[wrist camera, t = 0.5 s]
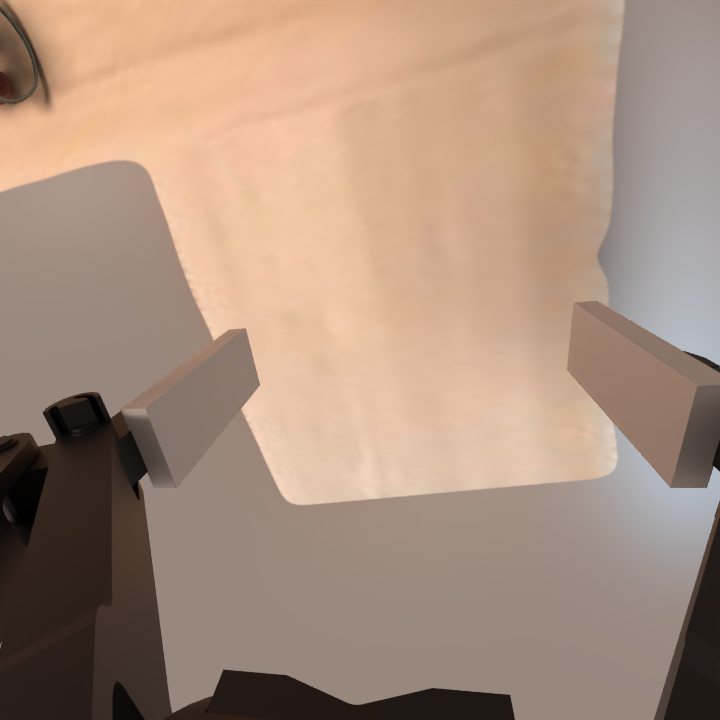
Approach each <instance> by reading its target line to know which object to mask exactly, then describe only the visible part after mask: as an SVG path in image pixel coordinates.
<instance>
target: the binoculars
mask: <svg viewBox="0 0 720 720" xmlns="http://www.w3.org/2000/svg"><path fill="white" fill-rule="evenodd" d="M0 12H1V13H2V14H3V15H4V16H5V17H6V18H7V19H8V21H9V22H10V23H11V24H12V26H13V27H14V28H15V30H16V31H17V33H18V34H19V35H20V37H21V39H22V40H23V42H24V44H25V46H26V48H27V50H28V52H29V54H30V57H31V60H32V64H33V68H34V74H35V83H34V86H33V88H32V90H31V91H30V92H28V93H27V94H26V95H24V96H23V97H21V98H18V99H10V94H11V85H10V82H9V80H8V79H7V78H6V76H5V75H4V74H3V73H2V72H0V105H1V104H5V103H8V104H16V103H19V102H22V101H24V100H25V99H27V98H28V97H29V96H30V95H32V94H33V92H34V90H35V89H36V86H37V82H38V71H37V65H36V61H35V57H34V55H33V52H32V49H31V47H30V45H29V43H28V41H27V39H26V38H25V36H24V34H23V33H22V31H21V30H20V28H19V27H18V25H17V24H16V23H15V21H14V20H13V19H12V18H11V16H10V15H9V14H8V13H7V12H6V11H5V10H4V9H3V8H2V7H1V6H0Z"/></svg>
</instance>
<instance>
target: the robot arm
mask: <svg viewBox="0 0 720 720" xmlns="http://www.w3.org/2000/svg"><path fill="white" fill-rule="evenodd" d="M567 370H568V371H569V373H570V374H571V375H572V376H573V377H574V378H575V379H576V380H577V382H578V383H579V384H580V385H581V386H582V387H583V388H584V390H585V391H586V392H587V393H588V394H589V395H590V396H591V398H592V399H593V400H594V401H595V402H596V403H597V404H598V406H599V407H600V408H601V409H602V410H603V411H604V412H605V414H606V415H607V416H608V417H609V418H610V419H611V420H612V422H613V423H614V424H615V425H616V426H617V427H618V428H619V430H620V431H621V432H622V433H623V434H624V435H625V436H626V437H627V439H628V440H629V441H630V442H631V443H632V444H633V445H634V447H635V448H636V449H637V450H638V451H639V452H640V453H641V455H642V456H643V457H644V458H645V459H646V460H647V461H648V463H649V464H650V465H651V466H652V467H653V468H654V469H655V470H656V472H657V473H658V474H659V475H660V476H661V477H662V479H663V480H664V481H665V482H666V483H667V484H668V485H669V487H670V488H707V486H708V483H709V480H710V476H711V473H712V470H713V467H716V468H717V469H718V470H719V471H720V366H719V365H717V364H715V363H713V362H711V361H710V360H708V359H706V358H704V357H701V356H698V355H695V354H691V353H689V352H686V351H682V350H680V349H678V348H676V347H675V346H673V345H671V344H669V343H668V342H666V341H664V340H663V339H661V338H659V337H657V336H656V335H654V334H652V333H650V332H649V331H647V330H645V329H643V328H642V327H640V326H638V325H636V324H635V323H633V322H632V321H630V320H628V319H627V318H625V317H623V316H621V315H620V314H618V313H616V312H614V311H613V310H611V309H609V308H608V307H606V306H604V305H602V304H601V303H599V302H597V301H591V302H578V303H574V308H573V318H572V327H571V337H570V346H569V355H568V365H567ZM259 386H260V383H259V379H258V375H257V371H256V367H255V363H254V359H253V355H252V351H251V347H250V343H249V340H248V336H247V332H246V328H244V329H231V330H228V331H227V332H225V333H224V334H223V335H221V336H220V337H219V338H217V339H216V340H214V341H213V342H212V343H210V344H209V345H208V346H206V347H205V348H204V349H202V350H201V351H200V352H198V353H197V354H195V355H194V356H193V357H192V358H190V359H189V360H187V361H186V362H185V363H183V364H182V365H180V366H179V367H178V368H176V369H175V370H173V371H172V372H171V373H169V374H168V375H167V376H165V377H164V378H163V379H161V380H160V381H159V382H157V383H156V384H154V385H153V386H152V387H150V388H149V389H148V390H146V391H145V392H143V393H142V394H141V395H140V396H138V397H137V398H135V399H134V400H133V401H131V402H130V403H129V404H127V405H126V406H124V407H123V408H122V409H121V411H120V412H119V413H117V414H116V415H115V416H113V417H112V418H110V416H109V414H108V412H107V409H106V407H105V405H104V403H103V401H102V398H101V396H100V394H99V393H95V392H90V393H82V394H78V395H74V396H71V397H68V398H66V399H63V400H61V401H58V402H57V403H54V404H52V405H51V406H49V407H48V408H46V409H45V410H44V412H43V415H44V416H45V418H46V420H47V422H48V424H49V426H50V428H51V430H52V432H53V434H54V435H55V437H56V442H55V443H54V444H49V445H44V446H40V447H38V446H37V444H36V442H35V440H34V438H33V437H32V435H31V434H30V433H19V434H14V435H10V436H3V437H0V644H1V642H2V644H1V648H0V720H515V718H514V713H513V707H512V702H511V697H510V695H505V694H493V693H482V692H471V691H459V690H448V689H437V688H431V689H427V690H423V691H419V692H414V693H410V694H406V695H401V696H397V697H393V698H388V699H384V700H379V701H375V702H371V703H367V704H362V705H352V704H349V703H346V702H344V701H342V700H340V699H338V698H335V697H333V696H331V695H329V694H327V693H324V692H322V691H320V690H318V689H316V688H313V687H311V686H309V685H307V684H305V683H303V682H301V681H298V680H296V679H294V678H291V677H290V676H287V675H277V674H267V673H255V672H243V671H232V670H223V672H222V675H221V677H220V680H219V682H218V685H217V687H216V690H215V692H214V695H213V696H211V697H208V698H205V699H203V700H200V701H197V702H195V703H192V704H190V705H188V706H186V707H184V708H182V709H180V710H178V711H176V712H174V713H172V711H171V706H170V699H169V693H168V685H167V676H166V668H165V661H164V653H163V645H162V637H161V629H160V621H159V614H158V606H157V597H156V589H155V581H154V574H153V566H152V558H151V550H150V543H149V534H148V527H147V518H146V511H145V502H144V494H143V490H142V488H141V485H140V483H139V480H140V479H141V478H142V477H143V476H144V475H145V474H146V473H148V475H149V477H150V480H151V482H152V484H153V486H154V488H177V487H178V486H179V485H180V484H181V482H182V481H183V480H184V478H185V477H186V476H187V475H188V473H189V472H190V471H191V470H192V469H193V468H194V466H195V465H196V464H197V463H198V461H199V460H200V459H201V458H202V456H203V455H204V454H205V453H206V451H207V450H208V449H209V448H210V446H211V445H212V444H213V443H214V441H215V440H216V439H217V438H218V436H219V435H220V434H221V433H222V432H223V430H224V429H225V428H226V427H227V425H228V424H229V423H230V422H231V420H232V419H233V418H234V417H235V415H236V414H237V413H238V412H239V410H240V409H241V408H242V407H243V406H244V404H245V403H246V402H247V401H248V399H249V398H250V397H251V396H252V394H253V393H254V392H255V391H256V389H257V388H258V387H259ZM654 720H720V502H719V505H718V508H717V511H716V514H715V520H714V523H713V526H712V529H711V533H710V536H709V540H708V543H707V546H706V549H705V553H704V556H703V559H702V563H701V566H700V569H699V573H698V576H697V579H696V582H695V586H694V589H693V592H692V596H691V599H690V602H689V606H688V609H687V612H686V615H685V619H684V622H683V626H682V629H681V632H680V635H679V639H678V642H677V645H676V649H675V652H674V655H673V659H672V662H671V665H670V668H669V672H668V675H667V678H666V682H665V685H664V688H663V692H662V695H661V698H660V702H659V705H658V708H657V712H656V715H655V718H654Z"/></svg>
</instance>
